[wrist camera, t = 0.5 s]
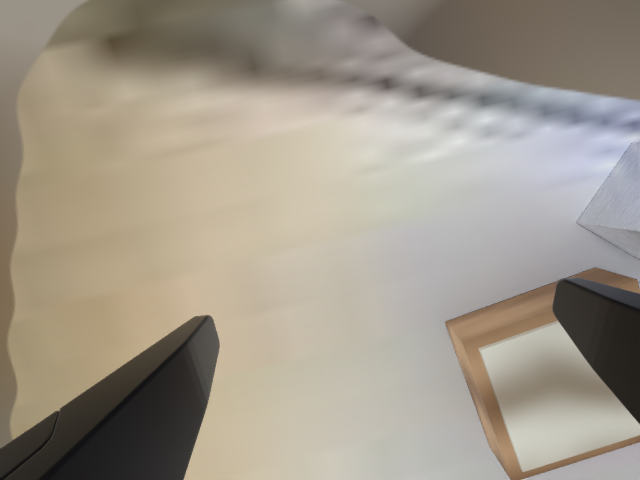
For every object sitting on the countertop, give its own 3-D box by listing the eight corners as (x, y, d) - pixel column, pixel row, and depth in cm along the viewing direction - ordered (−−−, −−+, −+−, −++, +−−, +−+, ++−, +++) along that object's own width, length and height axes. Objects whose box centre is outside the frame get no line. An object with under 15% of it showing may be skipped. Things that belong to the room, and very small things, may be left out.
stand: (632, 400, 24) (680, 433, 20) (489, 446, 24) (514, 485, 21) (595, 267, 22) (641, 280, 19) (444, 321, 23) (464, 343, 20)
